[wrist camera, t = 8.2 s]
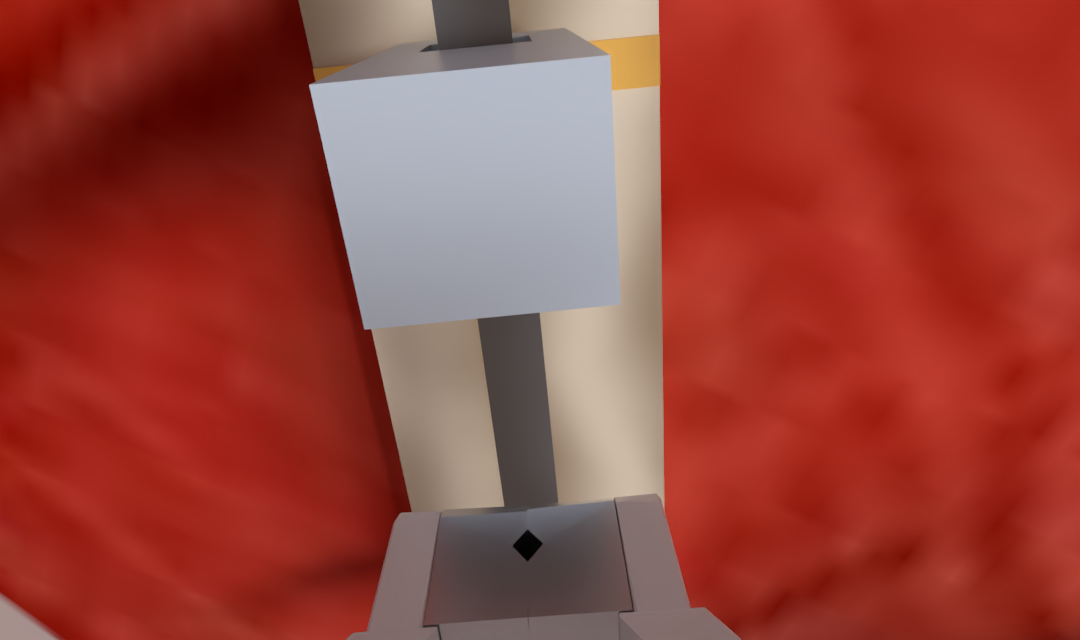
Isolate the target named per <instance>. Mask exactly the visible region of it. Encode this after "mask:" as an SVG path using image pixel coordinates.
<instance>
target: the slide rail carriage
mask: <svg viewBox="0 0 1080 640" xmlns="http://www.w3.org/2000/svg"><path fill="white" fill-rule="evenodd" d="M512 38H513V43H509V44H499V45H489V46H479V47H469V48H458V49H448V50H439V49H438V42H437V40H435V41H425V42H415V43H405V44H398V45H396V46H394V47H392V48H390V49H387V50H385V51H383V52H381V53H378V54H376V55H374V56H372V57H370V58H367V59H365V60H363V61H361V62H358V63H356V64H354V65H352V66H350V67H347V68H345V69H343V70H341V71H338V72H336V73H334V74H332V75H330V76H327V77H325V78H323V79H321V80H318V81H316V82H314V83H312V84H310V85H309V87H310V91H311V96H312V100H313V105H314V109H315V114H316V118H317V122H318V127H319V131H320V136H321V140H322V144H323V149H324V153H325V158H326V162H327V167H328V171H329V175H330V180H331V184H332V189H333V193H334V197H335V202H336V206H337V211H338V215H339V220H340V224H341V228H342V233H343V237H344V242H345V246H346V250H347V255H348V259H349V264H350V268H351V273H352V277H353V281H354V286H355V290H356V295H357V299H358V303H359V308H360V312H361V317H362V321H363V326H364V330H367V329H377V328H387V327H397V326H407V325H418V324H428V323H438V322H448V321H458V320H469V319H479V318H489V317H499V316H509V315H520V314H530V313H540V312H550V311H560V310H570V309H581V308H591V307H601V306H611V305H621V303H620V279H619V254H618V230H617V205H616V181H615V156H614V132H613V107H612V83H611V58H610V54H608V53H606V52H605V51H603V50H601V49H600V48H598V47H596V46H595V45H593V44H591V43H590V42H588V41H586V40H584V39H583V38H581V37H579V36H578V35H576V34H574V33H573V32H571V31H569V30H568V29H566V28H556V29H546V30H536V31H526V32H516V33H512Z"/></svg>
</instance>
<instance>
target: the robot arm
mask: <svg viewBox="0 0 1080 640" xmlns="http://www.w3.org/2000/svg"><path fill="white" fill-rule="evenodd" d="M346 640H742V639H741V638H740V637H738V636H737V635H736V634H735V633H734V632H733V631H732V630H730V629H729V628H728V627H727V626H726V625H725V624H724V623H722V622H721V621H720V620H719V619H718V618H717V617H716V616H714V615H713V614H712V613H711V612H710V611H709V610H708V609H706V608H691V607H690V603H689V600H688V596H687V592H686V589H685V585H684V581H683V578H682V574H681V570H680V567H679V563H678V559H677V556H676V552H675V548H674V545H673V541H672V537H671V534H670V530H669V526H668V523H667V519H666V515H665V512H664V508H663V504H662V501H661V498H660V497H659V496H658V495H657V494H656V493H655V494H644V495H634V496H623V497H614V500H613V499H612V498H611V499H598V500H586V501H574V502H562V503H550V504H538V505H524V506H505V507H486V508H466V509H447V510H444V511H424V512H405V513H400V514H399V516H398V517H397V519H396V520H395V521H394V523H393V527H392V531H391V535H390V539H389V544H388V548H387V552H386V556H385V560H384V564H383V568H382V572H381V576H380V580H379V584H378V588H377V592H376V596H375V600H374V604H373V608H372V612H371V616H370V620H369V624H368V628H367V632H358V633H352V634H351V635H350V636H349V637H348V638H347V639H346Z"/></svg>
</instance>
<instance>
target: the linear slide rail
mask: <svg viewBox="0 0 1080 640" xmlns="http://www.w3.org/2000/svg"><path fill="white" fill-rule="evenodd" d="M298 1H299V5H300V10H301V14H302V19H303V23H304V28H305V32H306V37H307V41H308V46H309V50H310V55H311V59H312V64H313V68H314V69H313V73H314V77H315V82H316V81H318V80H321V79H323V78H325V77H327V76H330V75H332V74H334V73H336V72H338V71H341V70H343V69H345V68H347V67H350V66H352V65H354V64H356V63H358V62H361V61H363V60H365V59H367V58H370V57H372V56H374V55H376V54H378V53H381V52H383V51H385V50H387V49H390V48H392V47H394V46H396V45H398V44H405V43H415V42H425V41H435V40H437V42H438V49H439V50H448V49H458V48H469V47H479V46H489V45H499V44H509V43H513V38H512V33H516V32H526V31H536V30H546V29H556V28H566V29H568V30H569V31H571V32H573V33H574V34H576V35H578V36H579V37H581V38H583V39H584V40H586V41H588V42H590V43H591V44H593V45H595V46H596V47H598V48H600V49H601V50H603V51H605V52H606V53H608V54H610V58H611V83H612V107H613V132H614V156H615V181H616V205H617V230H618V254H619V279H620V303H621V305H611V306H601V307H591V308H581V309H570V310H560V311H550V312H540V313H530V314H520V315H509V316H499V317H489V318H479V319H469V320H458V321H448V322H438V323H428V324H418V325H407V326H397V327H387V328H377V329H371V330H372V335H373V339H374V344H375V348H376V353H377V357H378V362H379V366H380V371H381V375H382V380H383V384H384V389H385V393H386V398H387V402H388V407H389V411H390V416H391V421H392V425H393V430H394V434H395V439H396V443H397V448H398V452H399V457H400V461H401V466H402V470H403V475H404V479H405V484H406V488H407V493H408V497H409V502H410V506H411V511H412V512H424V511H444V510H447V509H466V508H486V507H505V506H524V505H538V504H550V503H562V502H574V501H586V500H598V499H611V498H612V499H613V500H614V497H623V496H634V495H644V494H655V493H656V494H657V495H658V496H659V497H660V498H661V501H662V504H663V508H664V433H663V346H662V258H661V171H660V35H659V0H298Z"/></svg>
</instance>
